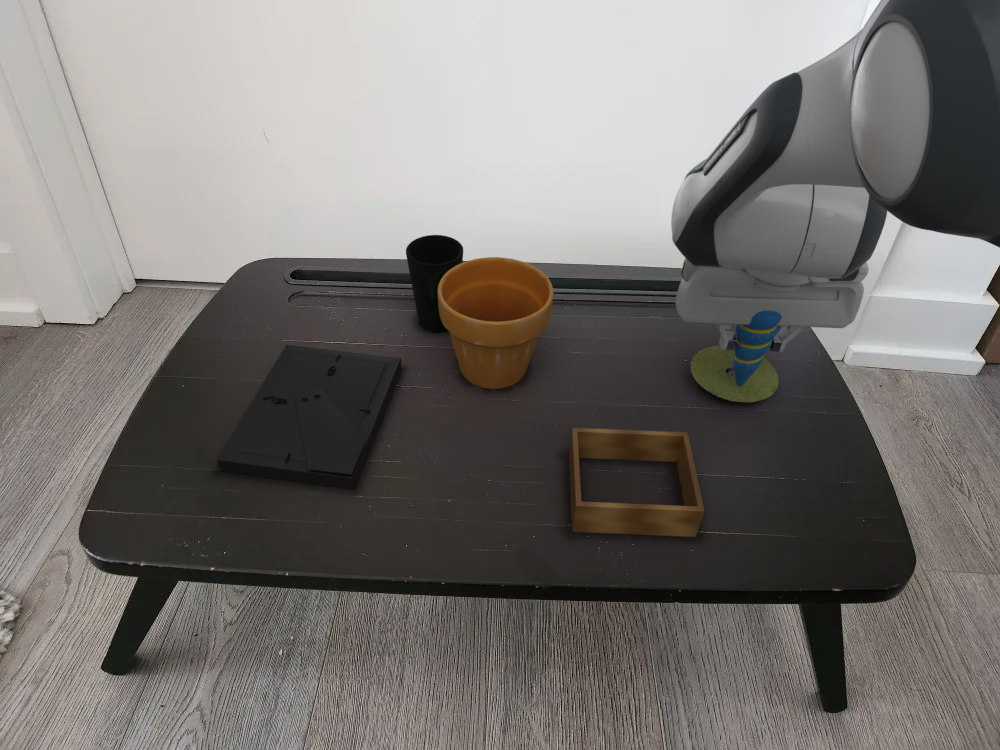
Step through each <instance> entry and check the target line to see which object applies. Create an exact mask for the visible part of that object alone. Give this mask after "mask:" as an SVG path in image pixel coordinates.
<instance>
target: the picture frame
mask: <svg viewBox="0 0 1000 750" xmlns="http://www.w3.org/2000/svg"><path fill="white" fill-rule="evenodd" d="M402 371H403V367H402V358H401V357H393V356H385V355H377V354H370V353H369V354H368V353H361V352H360V353H359V352H352V351H344V350H335V349H325V348H318V347H310V346H300V345H293V344H286V345H285V346H284V347H283V350H281V352H280V354H279V356H278V358H277V360H276V361H275V362H274V364H273V365H272V367H271V369H270V371H269V373H268V374H267V376H266V377H265V380H264V381H263V383H262V384H261V386H260V388H259V389H258V391H257V392H256V394H255V396H254V398H253V399H252V401H251V403H250V405H249V406H248V408H247V409H246V411H245V413H244V415H242V418H241V419H240V421H239V423H238V425H237V426H236V427H235V429H234V431H233V433H232V434H231V436H230V437H229V439H228V441H227V443H226V444H225V446H224V448H222V449H223V450H222V451H221V453H220V455H219V456H218V457H217V463H218V466H219V470H220V471H221V472H222V473H228V474H236V475H243V476H250V477H257V478H264V479H272V480H279V481H284V482H285V481H286V482H292V483H293V482H294V483H299V484H307V485H314V486H321V487H329V488H335V489H336V488H337V489H343V490H349V491H355V490H356V488H357V486H358V483H359V480H360V478H361V476H362V472H363V470H364V468H365V465H366V462H367V460H368V457H369V455H370V452H371V449H372V447H373V445H374V442H375V440H376V437H377V435H378V432H379V429H380V427H381V425H382V422H383V419H384V417H385V414H386V412H387V410H388V407H389V404H390V401H391V399H392V396H393V394H394V392H395V389H396V386H397V384H398V381H399V379H400V376H401V375H402Z"/></svg>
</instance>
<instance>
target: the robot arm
mask: <svg viewBox="0 0 1000 750" xmlns="http://www.w3.org/2000/svg"><path fill="white" fill-rule="evenodd" d="M758 95H759V96H758V97H756V99H755V100H754V101H753V102H752V103H751V104H750V105H749V107H748V108H747V109H746V110H745V112H743V114H742V115H741V116H740V118H739V119H738V120H737V121H736V122H735V123H734V125H733V126H732V127H731V128H730V130H729V131H728V132H727V134H725V136H724V137H723V138H722V139H721V141H720V142H718V144H717V146H716V147H715V148H714V149H713V151H712V152H711V153H710V154H709V155H708V156H707V158H705V159H703V160H701V162H699V163H698V164H695V166H694V167H692V169H691V170H689V171H688V172H687V173H686V175H685V177H684V179H683V181H682V183H681V184H680V186H679V188H678V190H677V192H676V195H675V197H674V202H673V206H672V210H671V219H670V221H671V222H670V223H671V224H670V228H671V229H670V230H671V238H672V242H673V244H674V246H675V247H676V249H677V250H679V253H680V254H681V255H682V256H683V257H684V261H683V264H682V268H681V277H682V278H681V280H680V283H679V286H678V289H677V292H676V294H675V299H674V302H675V309H676V312H677V315H678V316H679V318H680V319H681V320H682V322H684V323H689V324H690V323H694V324H717V328H718V330H719V333H720V336H719V340H718V344H719V345H720V348H721V350H734V348H735V347H734V346H735V345H736V341H737V336H736V333H735V331H733V330H732V327H733V325H737V324H744V325H749V324H750V322H751V319H752V317H753V316H754V315H755V314H757V313H758V312H761V311H775V312H778V313H780V314H781V316H782V318H781V320H780V322H779V323H778V324H777V325H776V326H780V327H782V328H780V330H779V332H778V333H777V335H776V336H775V337H774V338H773V341H772V344H771V347H770V348H769V350H768V351H769V353H771V352H773V353H783V352H784V350H785V347H786V345H787V343H789V342H790V341H791V340H793V339H794V338H795V337H796V336H798V335H799V334H800V333H801V332H802V329H803V328H825V329H844V328H846V327H848V326H849V325H851V324H852V323H854V321H855V320H856V317H857V315H858V313H859V311H860V307H861V304H862V300H863V297H864V291H865V287H864V284H863V282H862V281H864V280H865V279H866V278H867V276H868V273H869V271H870V270H869V265H868V263H867V262H868V261H869V260H870V259H871V258H872V256H873V254H874V252H875V250H876V248H877V245H878V243H879V241H880V238H881V235H882V232H883V230H884V227H885V225H886V224H885V223H886V219H887V217H888V213H890V214H891V215H892V216H893V217H895V218H896V219H898V220H899V221H900V222H902V223H904V224H906V225H908V226H909V227H912V228H916V229H920V230H923V231H924V230H925V231H931V232H935V233H938V234H939V233H940V234H945V235H951V236H957V237H963V238H973V239H978V240H980V241H981V240H982V241H984V242H986V243H988V244H990V245H993V246H995V247H997V248H1000V0H880V1H879V2H878V4H877V5H876V7H875V8H874V10H873V11H872V13H871V14H870V16H869V17H868V19H867V20H866V22H865V24H864V25H863V27H862V28H861V29H860V30H859V31H858V32H857V33H856V34H855V35H854V36H852V37H851V38H850V39H849V40H847V41H846V42H845V43H843V44H842V45H841V46H839V47H838V48H837V49H835V50H833V51H832V52H830V53H829V54H827V55H826V56H824V57H823V58H820V59H819V60H817V61H816V62H814V63H812V64H810V65H808V66H806V67H804V68H803V69H800V70H799V71H797V72H792V73H790V74H788V75H785V76H784V77H782V78H779V79H777V80H774V81H773V82H772V83H771V84H769V85H768V86H767V87H766V88H764V90H763V91H762V92H761V93H760V94H758ZM731 330H732V331H731ZM719 345H718V346H719Z"/></svg>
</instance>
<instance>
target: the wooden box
mask: <svg viewBox="0 0 1000 750" xmlns="http://www.w3.org/2000/svg"><path fill="white" fill-rule="evenodd" d="M568 449H569V450H568V466H569V467H568V468H569V488H570V489H569V490H570V512H571V532H572V533H592V534H593V533H594V534H614V535H615V534H616V535H640V536H660V537H661V536H665V537H686V538H687V537H688V538H691V537H692V538H696V537H697V534H698V531H699V529H700V526H701V523H702V520H703V516H704V513H705V507H704V503H703V498H702V493H701V489H700V484H699V483H700V482H699V479H698V475H697V470H696V466H695V461H694V456H693V452H692V448H691V442H690V437H689V433H688V432H685V431H662V430H661V431H660V430H639V429H638V430H636V429H613V428H611V429H609V428H590V427H589V428H587V427H586V428H585V427H572V428H571V433H570V439H569V448H568ZM580 459H594V460H595V459H597V460H617V461H618V460H619V461H620V460H622V461H645V462H668V463H671V462H672V463H675V464H676V469H677V474H678V479H679V484H680V490H681V496H682V501H683V505H673V504H671V505H670V504H651V503H650V504H649V503H647V504H646V503H627V502H626V503H623V502H600V501H582V488H581V487H582V486H581V484H582V483H581V471H580V470H581V469H580V468H581V467H580Z"/></svg>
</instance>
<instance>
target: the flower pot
mask: <svg viewBox="0 0 1000 750" xmlns="http://www.w3.org/2000/svg"><path fill="white" fill-rule="evenodd" d="M553 301H554V287H553V284H552V281H551V280H550V279H549V277H548V276H547V275H546V274H545V273H544V272H543V271H541V270H540V269H539V268H538V267H536V266H535V265H531V264H530V263H527V262H525V261H522V260H518V259H514V258H509V257H500V256H499V257H498V256H497V257H496V256H489V257H479V258H474V259H470V260H467V261H463V262H462V263H461V264H459V265H457V266H455V267H453V268H452V269H450V270H449V271H448V272H447V273H446V274H445V275H444V276H443V277H442V279H441V281H440V283H439V286H438V306H439V315H440V318H441V321H442V323H443V325H444V326H445V328H446V329H447V330H448V331H447V332H449V335H450V339H451V342H452V346H453V349H454V353H455V356H456V359H457V363H458V366H459V369H460V372H461V374H462V376H463V377H464V379H466V381H467V382H469V383H470V384H472V385H474V386H476V387H478V388H482V389H488V390H501V389H506V388H508V387H513V386H514V385H515V384H516V385H517V384H518V383H519V382H520V381H521V380H522V379H523V377H524V376H525V374H526V372H527V369H528V367H529V364H530V361H531V358H532V357H533V353H534V351H535V348H536V344H537V343H538V342H537V341H538V339H539V336H540V335H541V334H542V333H543V332H544V331H545V329H546V328H547V327H548V325H549V323H550V320H551V316H552V309H553Z"/></svg>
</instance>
